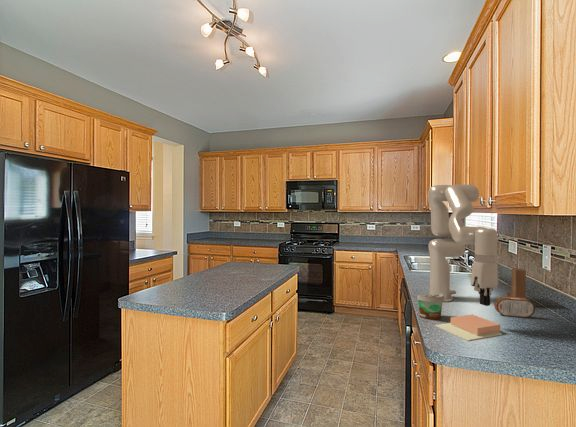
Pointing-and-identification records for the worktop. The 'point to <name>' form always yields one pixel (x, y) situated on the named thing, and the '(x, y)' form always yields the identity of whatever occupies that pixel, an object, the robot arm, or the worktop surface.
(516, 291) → the wooden block
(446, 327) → the mat
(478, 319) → the tile
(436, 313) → the food container
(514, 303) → the tin
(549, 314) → the worktop surface
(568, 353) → the worktop surface
